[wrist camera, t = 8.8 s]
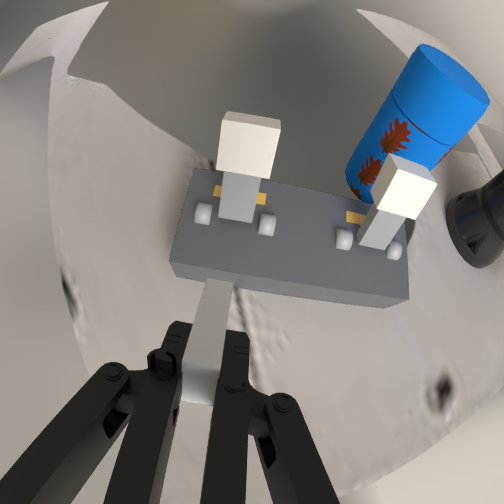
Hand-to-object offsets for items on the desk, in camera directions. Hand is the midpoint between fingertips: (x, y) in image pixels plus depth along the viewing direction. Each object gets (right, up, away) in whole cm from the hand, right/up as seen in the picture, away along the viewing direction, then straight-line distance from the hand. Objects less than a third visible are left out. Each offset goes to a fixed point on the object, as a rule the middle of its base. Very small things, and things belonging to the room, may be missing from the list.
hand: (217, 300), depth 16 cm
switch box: (+7, +3, +21) cm, 22 cm away
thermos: (+22, +14, +27) cm, 38 cm away
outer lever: (0, +6, +15) cm, 16 cm away
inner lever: (+16, +4, +16) cm, 23 cm away
